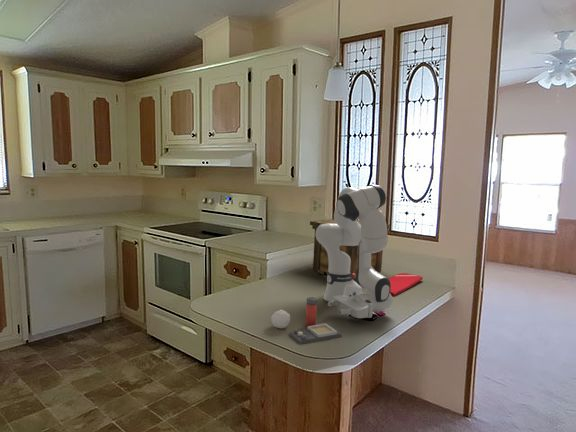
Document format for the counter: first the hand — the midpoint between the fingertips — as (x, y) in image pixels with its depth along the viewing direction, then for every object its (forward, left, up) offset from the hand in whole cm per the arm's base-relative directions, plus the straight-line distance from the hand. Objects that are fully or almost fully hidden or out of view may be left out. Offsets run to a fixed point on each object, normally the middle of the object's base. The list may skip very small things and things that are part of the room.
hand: (334, 308), depth 179 cm
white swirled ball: (+24, -3, -7) cm, 25 cm away
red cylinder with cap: (+12, 0, -7) cm, 13 cm away
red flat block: (-66, -34, -7) cm, 75 cm away
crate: (-52, -65, -7) cm, 84 cm away
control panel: (+15, +9, -7) cm, 18 cm away
